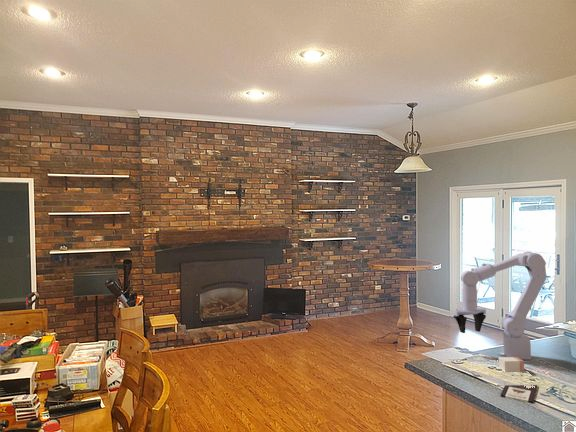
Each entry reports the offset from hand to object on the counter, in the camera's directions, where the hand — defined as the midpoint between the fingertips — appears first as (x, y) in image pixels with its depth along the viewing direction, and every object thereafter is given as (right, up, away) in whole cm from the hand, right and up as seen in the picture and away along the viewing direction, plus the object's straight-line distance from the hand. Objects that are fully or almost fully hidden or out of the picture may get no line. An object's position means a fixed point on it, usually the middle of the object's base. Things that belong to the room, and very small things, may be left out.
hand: (470, 331), depth 177 cm
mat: (+1, -9, -18) cm, 20 cm away
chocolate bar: (0, -10, -38) cm, 39 cm away
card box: (+6, -8, -21) cm, 23 cm away
